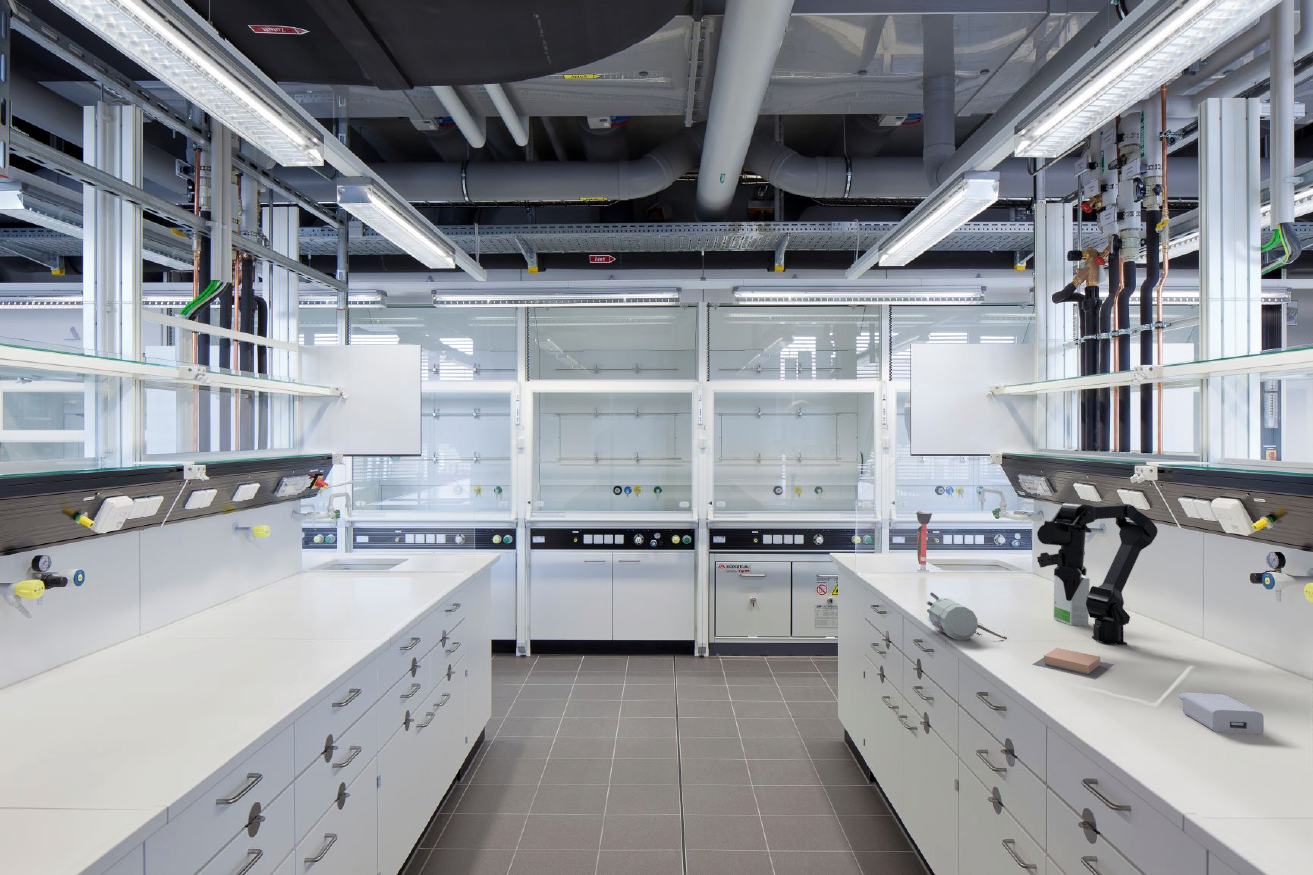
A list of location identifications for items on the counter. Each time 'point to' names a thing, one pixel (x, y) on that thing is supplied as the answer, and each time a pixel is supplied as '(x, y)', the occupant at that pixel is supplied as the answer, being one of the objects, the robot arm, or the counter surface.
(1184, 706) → the charger
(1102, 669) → the mat
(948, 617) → the device
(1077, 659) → the tile
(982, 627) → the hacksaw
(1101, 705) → the counter surface
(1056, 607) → the skincare box
